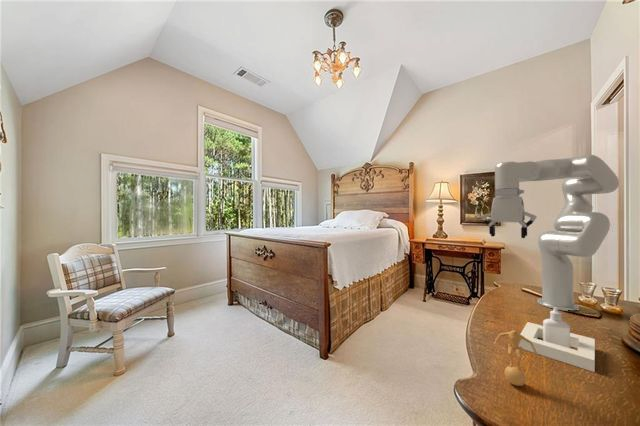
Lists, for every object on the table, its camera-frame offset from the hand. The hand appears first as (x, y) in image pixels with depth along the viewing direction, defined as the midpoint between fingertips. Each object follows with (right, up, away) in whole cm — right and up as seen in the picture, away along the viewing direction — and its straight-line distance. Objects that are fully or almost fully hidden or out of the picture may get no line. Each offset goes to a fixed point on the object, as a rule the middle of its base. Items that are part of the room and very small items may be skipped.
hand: (507, 237), depth 96 cm
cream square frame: (-5, -30, -24) cm, 39 cm away
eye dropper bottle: (-5, -31, -24) cm, 39 cm away
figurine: (-28, -31, -38) cm, 56 cm away
